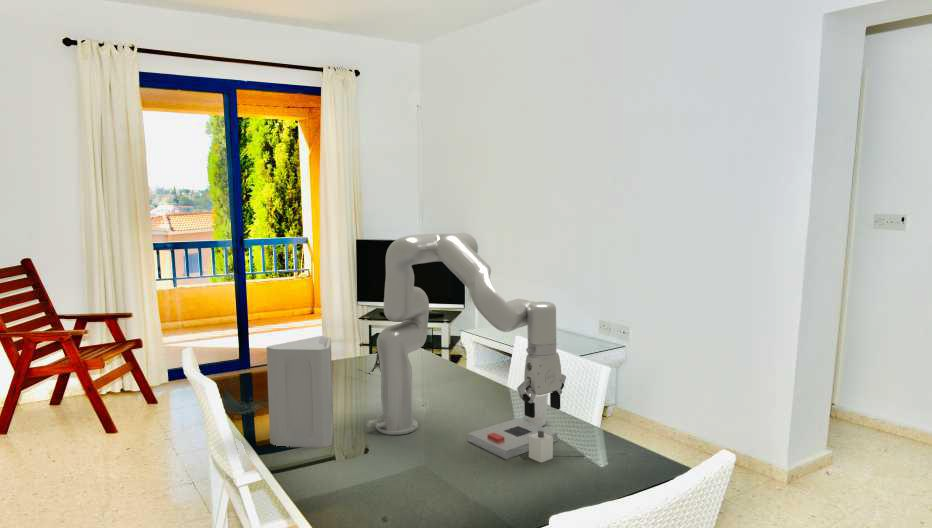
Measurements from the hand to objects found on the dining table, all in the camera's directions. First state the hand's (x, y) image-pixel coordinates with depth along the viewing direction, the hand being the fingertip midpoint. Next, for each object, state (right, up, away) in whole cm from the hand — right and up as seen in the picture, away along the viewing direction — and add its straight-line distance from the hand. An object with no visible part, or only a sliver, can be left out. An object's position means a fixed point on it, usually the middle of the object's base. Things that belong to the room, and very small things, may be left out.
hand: (542, 412), depth 159 cm
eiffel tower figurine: (-57, -5, +87) cm, 104 cm away
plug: (0, -13, +1) cm, 13 cm away
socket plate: (-7, -11, +13) cm, 19 cm away
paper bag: (-65, -12, +15) cm, 68 cm away
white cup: (+1, -10, +27) cm, 29 cm away
